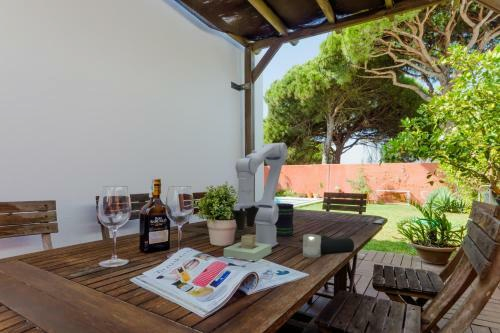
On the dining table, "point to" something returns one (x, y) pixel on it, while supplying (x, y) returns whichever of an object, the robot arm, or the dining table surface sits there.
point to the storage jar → (284, 220)
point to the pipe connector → (336, 245)
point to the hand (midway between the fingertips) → (245, 228)
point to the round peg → (311, 245)
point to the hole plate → (247, 251)
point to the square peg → (248, 241)
